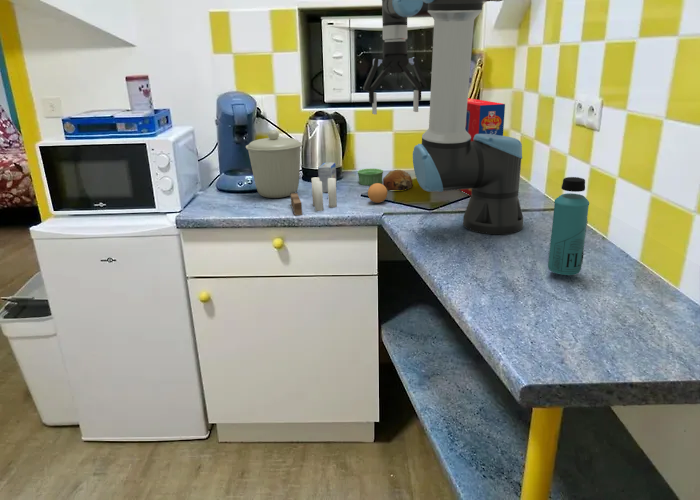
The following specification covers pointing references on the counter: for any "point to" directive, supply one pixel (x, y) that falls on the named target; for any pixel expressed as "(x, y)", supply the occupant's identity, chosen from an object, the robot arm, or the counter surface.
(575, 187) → the beverage bottle
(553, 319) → the counter surface
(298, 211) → the back rail
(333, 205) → the pin front
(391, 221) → the counter surface
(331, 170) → the medicine box
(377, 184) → the ball
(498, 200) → the robot arm
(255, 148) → the canister
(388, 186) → the bread roll
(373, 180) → the ramekin
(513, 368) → the counter surface
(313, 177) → the pin
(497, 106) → the pasta box
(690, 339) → the counter surface
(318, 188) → the pin
